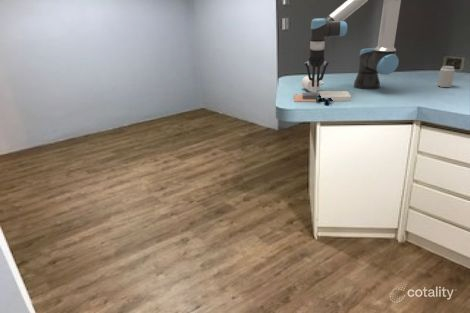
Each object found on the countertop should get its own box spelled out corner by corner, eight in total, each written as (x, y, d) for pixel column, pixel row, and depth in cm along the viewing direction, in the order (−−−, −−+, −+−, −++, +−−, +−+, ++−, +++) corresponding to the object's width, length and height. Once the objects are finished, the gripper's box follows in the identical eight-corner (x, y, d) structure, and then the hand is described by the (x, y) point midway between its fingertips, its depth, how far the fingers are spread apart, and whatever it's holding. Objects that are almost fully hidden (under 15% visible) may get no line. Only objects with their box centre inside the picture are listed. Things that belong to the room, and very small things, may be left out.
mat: (318, 95, 215) (318, 94, 215) (320, 101, 203) (320, 101, 202) (293, 95, 217) (293, 94, 217) (294, 101, 204) (294, 101, 204)
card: (318, 96, 211) (318, 92, 211) (319, 99, 206) (319, 95, 205) (302, 96, 212) (302, 92, 212) (302, 99, 207) (303, 95, 206)
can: (445, 88, 217) (449, 68, 212) (434, 86, 224) (438, 66, 219) (454, 87, 220) (458, 66, 215) (443, 84, 226) (447, 64, 221)
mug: (307, 92, 222) (307, 79, 218) (301, 88, 231) (301, 76, 227) (325, 90, 224) (326, 77, 220) (319, 87, 233) (319, 74, 229)
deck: (347, 95, 212) (347, 91, 211) (350, 101, 201) (350, 96, 200) (318, 95, 214) (318, 91, 213) (320, 101, 203) (320, 96, 202)
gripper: (305, 50, 196) (303, 94, 205) (330, 50, 194) (327, 94, 204) (304, 48, 202) (302, 90, 212) (328, 48, 201) (326, 90, 210)
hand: (314, 92), depth 208 cm, fingers closed
